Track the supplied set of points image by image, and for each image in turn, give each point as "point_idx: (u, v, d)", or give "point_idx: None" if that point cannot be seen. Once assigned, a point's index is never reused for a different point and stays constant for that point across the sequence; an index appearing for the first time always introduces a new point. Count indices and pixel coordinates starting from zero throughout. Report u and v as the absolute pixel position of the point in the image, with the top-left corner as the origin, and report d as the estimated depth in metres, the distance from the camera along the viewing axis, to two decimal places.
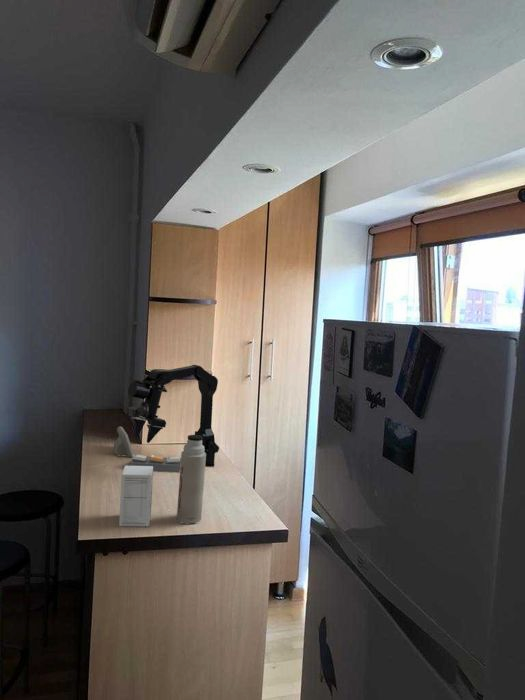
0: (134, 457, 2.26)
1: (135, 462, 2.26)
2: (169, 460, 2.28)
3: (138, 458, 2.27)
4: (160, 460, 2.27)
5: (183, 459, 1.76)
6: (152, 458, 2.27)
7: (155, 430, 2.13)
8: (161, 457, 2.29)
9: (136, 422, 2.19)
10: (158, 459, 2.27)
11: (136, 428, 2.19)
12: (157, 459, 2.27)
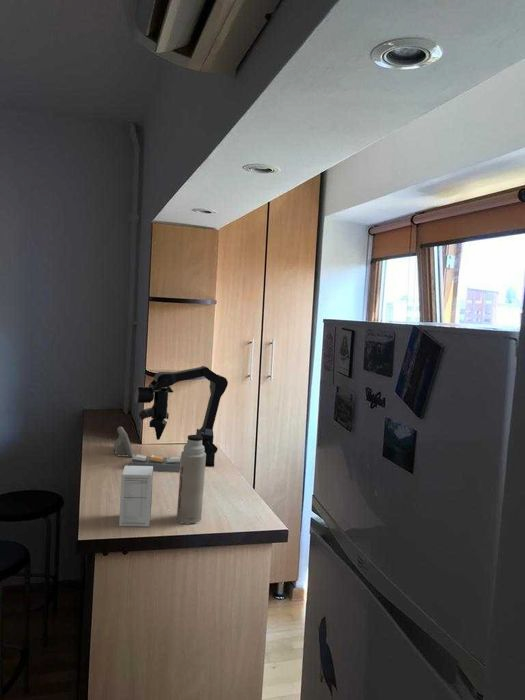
0: (134, 457, 2.26)
1: (135, 462, 2.26)
2: (169, 460, 2.28)
3: (138, 458, 2.27)
4: (160, 460, 2.27)
5: (183, 459, 1.76)
6: (152, 458, 2.27)
7: (161, 428, 2.28)
8: (161, 457, 2.29)
9: None
10: (158, 459, 2.27)
11: None
12: (157, 459, 2.27)
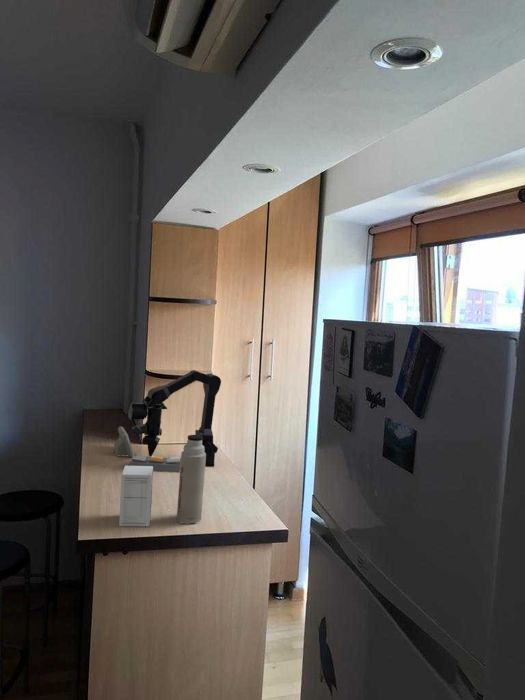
0: (134, 457, 2.26)
1: (135, 462, 2.26)
2: (169, 460, 2.28)
3: (138, 458, 2.27)
4: (160, 460, 2.27)
5: (183, 459, 1.76)
6: (152, 458, 2.27)
7: (153, 445, 2.26)
8: (161, 457, 2.29)
9: None
10: (158, 459, 2.27)
11: None
12: (157, 459, 2.27)
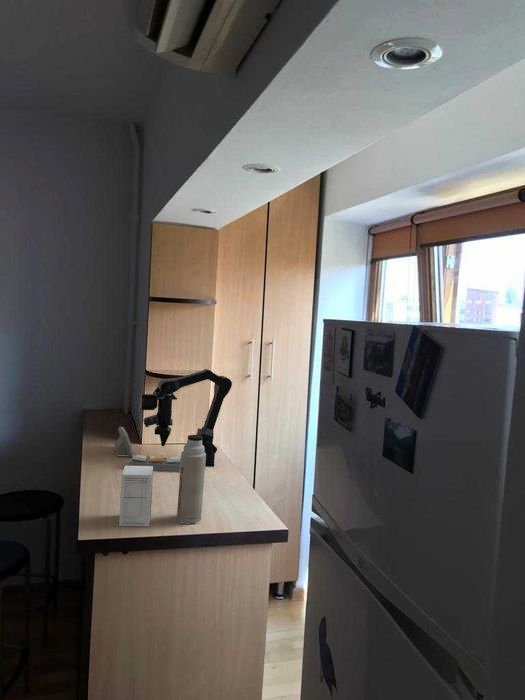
0: (134, 457, 2.26)
1: (135, 462, 2.26)
2: (169, 460, 2.28)
3: (138, 458, 2.27)
4: (160, 459, 2.27)
5: (183, 459, 1.76)
6: (152, 459, 2.27)
7: (165, 434, 2.31)
8: (160, 456, 2.29)
9: None
10: (158, 458, 2.27)
11: None
12: (157, 459, 2.27)
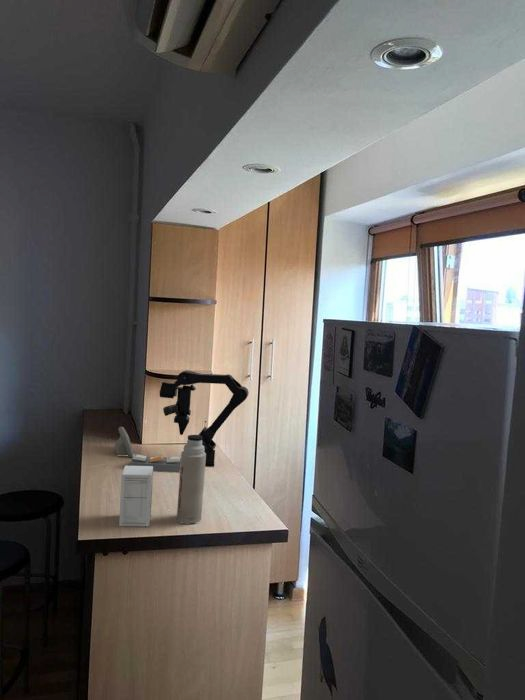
0: (134, 457, 2.26)
1: (135, 462, 2.26)
2: (169, 460, 2.28)
3: (138, 458, 2.27)
4: (160, 458, 2.27)
5: (183, 459, 1.76)
6: (152, 460, 2.27)
7: (184, 424, 2.39)
8: (160, 455, 2.29)
9: None
10: (157, 458, 2.27)
11: None
12: (157, 459, 2.27)
